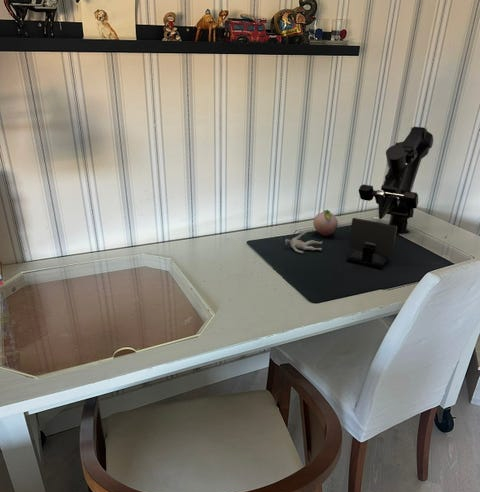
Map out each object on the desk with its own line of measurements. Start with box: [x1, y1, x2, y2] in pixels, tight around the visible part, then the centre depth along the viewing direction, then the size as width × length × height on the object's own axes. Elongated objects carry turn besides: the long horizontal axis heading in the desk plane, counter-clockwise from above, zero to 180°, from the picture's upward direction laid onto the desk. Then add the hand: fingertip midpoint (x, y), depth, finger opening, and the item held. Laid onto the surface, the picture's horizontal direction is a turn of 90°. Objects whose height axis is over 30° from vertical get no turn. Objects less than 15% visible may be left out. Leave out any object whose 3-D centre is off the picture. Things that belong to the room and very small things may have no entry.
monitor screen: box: [348, 217, 397, 258], centre depth 155 cm, size 2×14×10 cm, turn 59°
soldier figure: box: [284, 231, 323, 254], centre depth 165 cm, size 8×5×12 cm
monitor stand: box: [346, 245, 390, 270], centre depth 157 cm, size 8×11×5 cm
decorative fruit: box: [313, 209, 339, 237], centre depth 176 cm, size 9×8×10 cm
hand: (380, 218), depth 158 cm, fingers closed
